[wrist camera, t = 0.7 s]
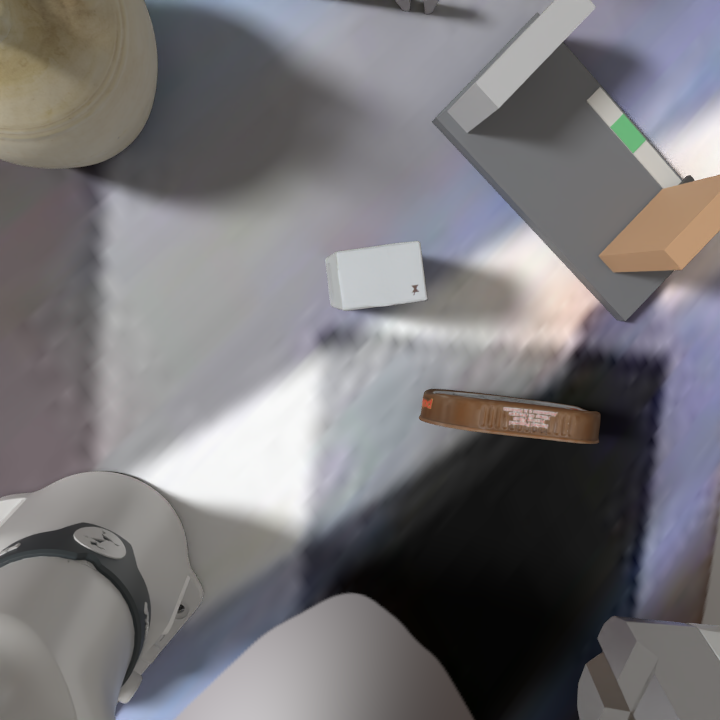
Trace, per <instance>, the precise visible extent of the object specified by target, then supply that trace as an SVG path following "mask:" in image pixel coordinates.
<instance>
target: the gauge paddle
mask: <svg viewBox="0 0 720 720" xmlns="http://www.w3.org/2000/svg"><path fill="white" fill-rule="evenodd" d="M719 231H720V175H717V176H713V177H709V178H705V179H701V180H697V181H694V179H693V178H692V177H691V175H689V176H686V177H685V178H684V179H683V180H682V182H681V183H680V184H679V185H676V186H672V187H668V188H664V189H662V190H661V191H660V192H659V193H658V194H657V195H656V196H655V197H654V198H653V199H652V200H651V201H650V202H649V204H648V205H647V206H646V207H645V208H644V209H643V210H642V211H641V212H640V213H639V214H638V215H637V216H636V217H635V218H634V219H633V220H632V221H631V222H630V223H629V224H628V225H627V226H626V228H625V229H624V230H623V231H622V232H621V233H620V234H619V235H618V236H617V237H616V238H615V239H614V240H613V241H612V242H611V243H610V244H609V245H608V246H607V247H606V248H605V249H604V250H603V252H602V253H601V254H600V255H599V257H600V258H601V260H602V261H603V262H604V263H605V264H606V265H607V266H608V267H609V268H610V269H611V270H612V272H639V271H666V270H682V269H683V268H684V267H685V266H686V265H687V264H688V263H689V262H690V261H691V260H692V259H693V258H694V257H695V256H696V255H697V254H698V252H699V251H700V250H701V249H702V248H703V247H704V246H705V245H706V244H707V243H708V242H709V241H710V240H711V239H712V238H713V237H714V236H715V235H716V234H717V233H718V232H719Z"/></svg>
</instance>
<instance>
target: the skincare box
mask: <svg viewBox="0 0 720 720" xmlns="http://www.w3.org/2000/svg"><path fill="white" fill-rule="evenodd" d="M325 263H326V271H327V279H328V288H329V297H330V304H331V306H332V307H335V308H337V309H341V310H343V311H349V310H357V309H365V308H372V307H384V306H391V305H399V304H406V303H413V302H420V301H426V300H427V299H428V297H427V290H426V283H425V275H424V268H423V260H422V253H421V245H420V242H419V241H414V242H404V243H394V244H387V245H380V246H374V247H367V248H359V249H352V250H345V251H337V252H335V253H334V254H332V255H331V256H329V257H328V258H326V259H325Z"/></svg>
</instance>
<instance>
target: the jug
mask: <svg viewBox="0 0 720 720" xmlns="http://www.w3.org/2000/svg"><path fill="white" fill-rule="evenodd" d="M157 71H158V60H157V46H156V39H155V34H154V30H153V26H152V22H151V18H150V15H149V12H148V9H147V7H146V4H145V2H144V0H0V159H1V160H4V161H7V162H10V163H14V164H18V165H23V166H28V167H36V168H50V169H62V168H75V167H84V166H89V165H93V164H97V163H100V162H103V161H105V160H108V159H110V158H112V157H114V156H115V155H117V154H119V153H120V152H121V151H123V150H124V149H125V148H127V147H128V146H129V145H130V144H131V143H132V142H133V141H134V140H135V139H136V138H137V136H138V135H139V134H140V132H141V131H142V129H143V128H144V126H145V124H146V122H147V120H148V117H149V115H150V112H151V109H152V106H153V102H154V97H155V92H156V85H157Z"/></svg>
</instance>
